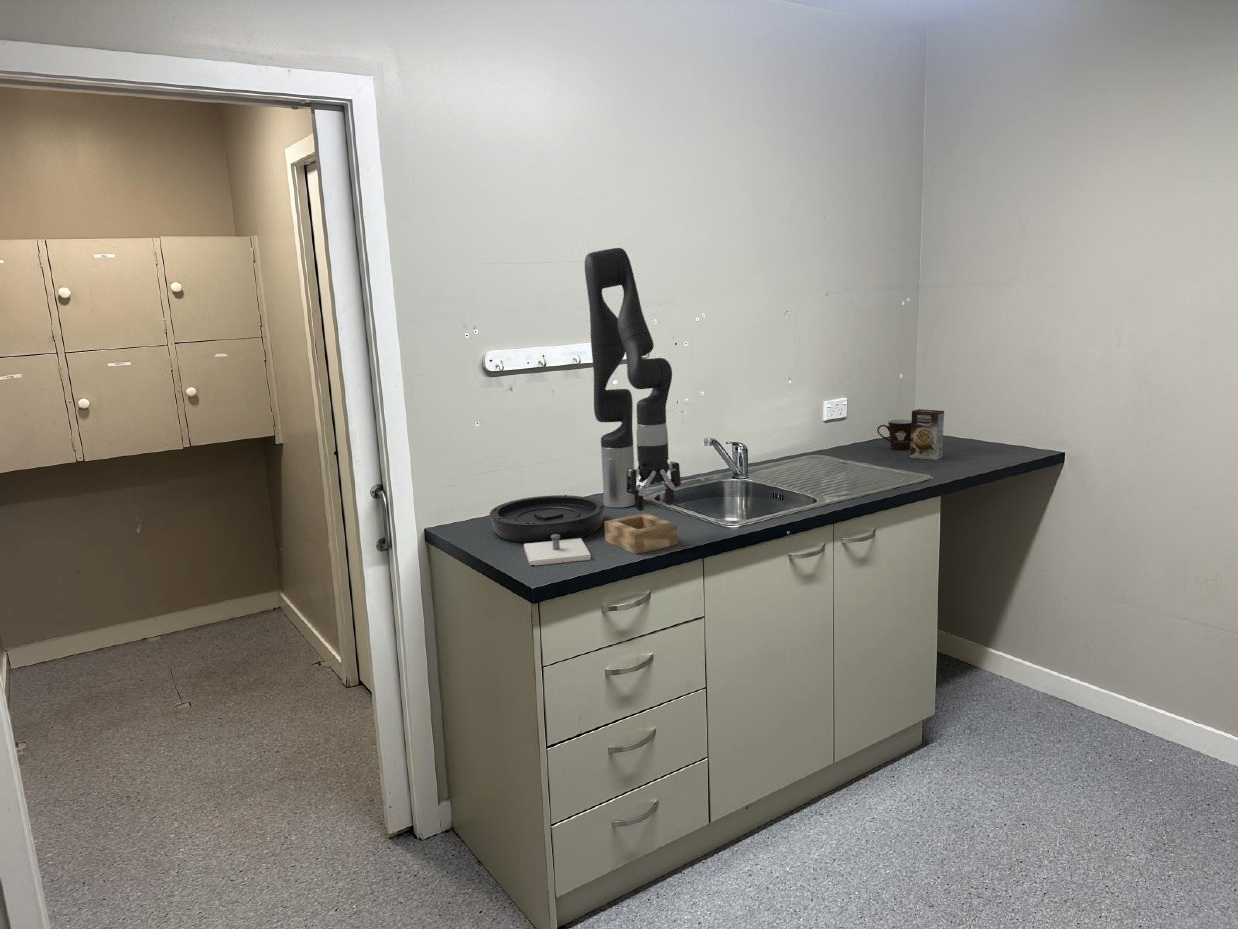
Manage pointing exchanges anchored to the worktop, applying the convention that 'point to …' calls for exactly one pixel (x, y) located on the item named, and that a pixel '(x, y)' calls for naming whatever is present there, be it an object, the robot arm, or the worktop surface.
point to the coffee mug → (899, 434)
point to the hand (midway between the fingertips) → (654, 507)
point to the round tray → (547, 518)
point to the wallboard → (556, 551)
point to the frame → (640, 533)
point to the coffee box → (927, 434)
